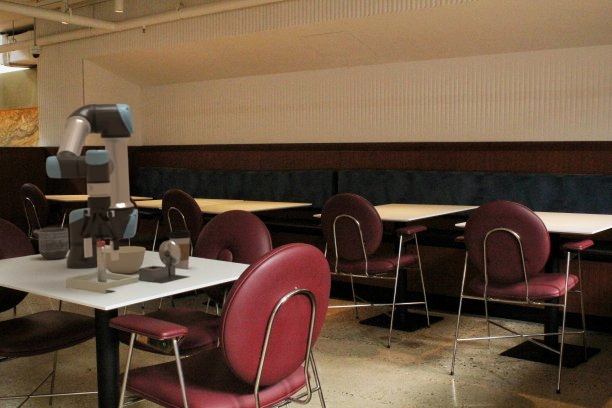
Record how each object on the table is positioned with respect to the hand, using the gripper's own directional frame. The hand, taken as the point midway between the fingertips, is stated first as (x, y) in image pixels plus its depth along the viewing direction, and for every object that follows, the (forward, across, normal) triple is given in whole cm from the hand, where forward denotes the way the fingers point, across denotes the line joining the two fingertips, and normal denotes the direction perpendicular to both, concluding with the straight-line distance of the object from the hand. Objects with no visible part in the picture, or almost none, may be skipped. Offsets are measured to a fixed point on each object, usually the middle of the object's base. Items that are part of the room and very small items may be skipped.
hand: (101, 258), depth 231 cm
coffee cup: (+10, -2, +39) cm, 40 cm away
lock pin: (+9, 0, 0) cm, 9 cm away
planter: (+10, -70, +31) cm, 77 cm away
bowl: (+10, -9, +17) cm, 22 cm away
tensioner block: (+10, +11, +16) cm, 22 cm away
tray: (+10, 0, 0) cm, 10 cm away
